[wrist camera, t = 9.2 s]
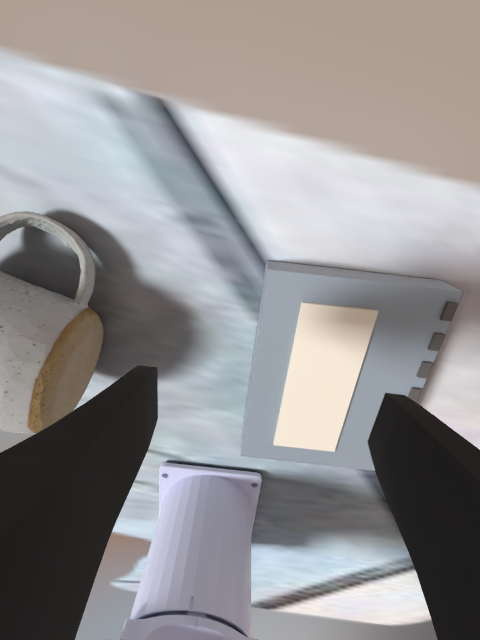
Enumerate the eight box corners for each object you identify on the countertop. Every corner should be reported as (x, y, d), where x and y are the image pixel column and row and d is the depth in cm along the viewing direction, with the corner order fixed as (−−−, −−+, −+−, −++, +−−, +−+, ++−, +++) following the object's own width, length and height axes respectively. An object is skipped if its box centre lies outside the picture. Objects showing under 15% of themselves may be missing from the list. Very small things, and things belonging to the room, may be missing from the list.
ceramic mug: (100, 386, 21) (27, 483, 14) (-21, 349, 21) (-162, 433, 14) (132, 240, 17) (51, 276, 10) (-17, 186, 17) (-215, 185, 10)
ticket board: (376, 448, 23) (388, 474, 21) (241, 434, 23) (240, 458, 21) (441, 280, 17) (466, 292, 15) (266, 260, 17) (268, 270, 15)
